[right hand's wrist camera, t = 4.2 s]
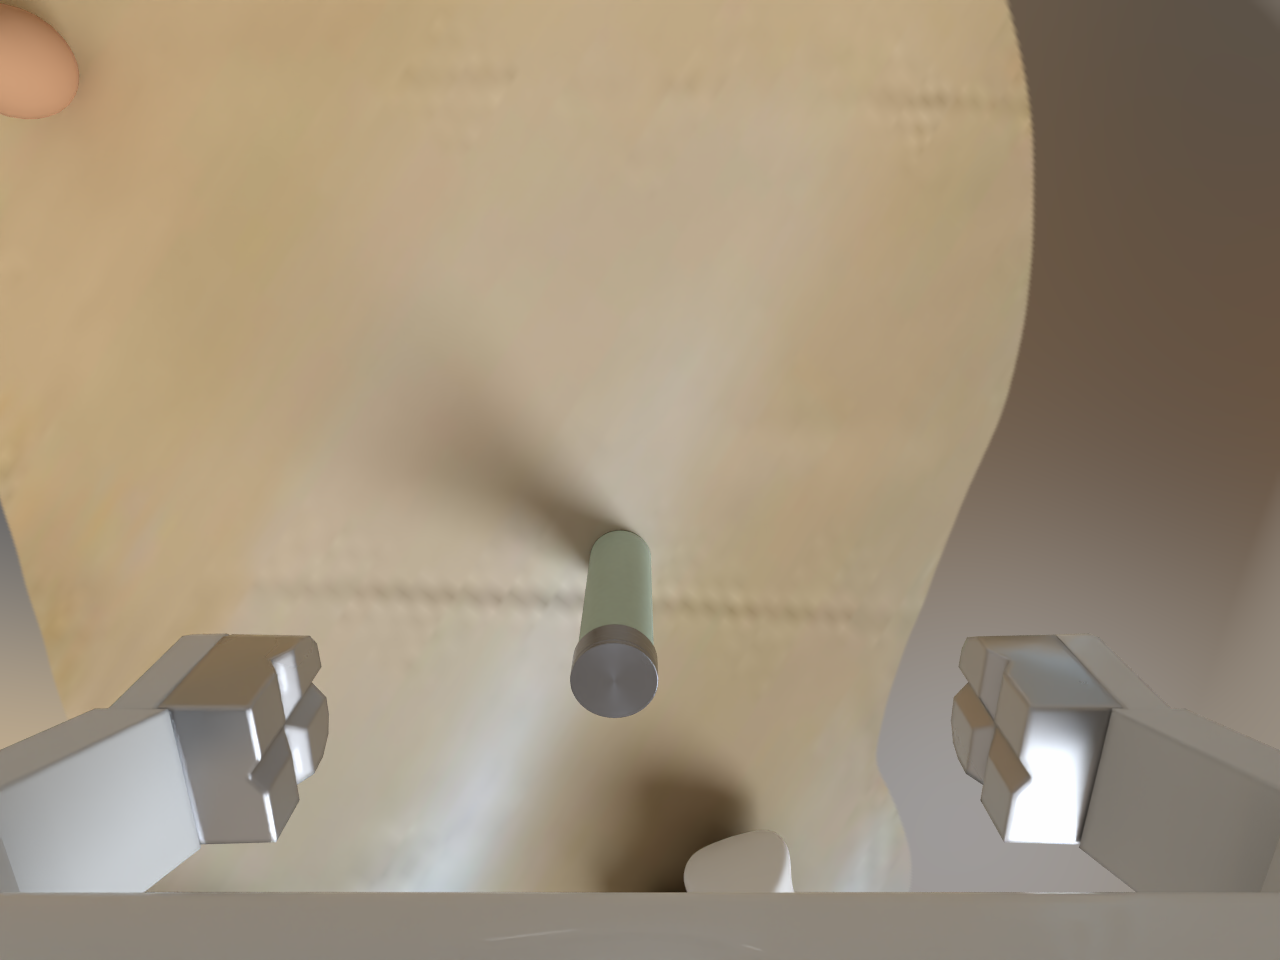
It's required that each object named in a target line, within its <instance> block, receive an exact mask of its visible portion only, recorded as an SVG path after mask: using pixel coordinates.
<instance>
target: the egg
mask: <svg viewBox="0 0 1280 960" xmlns="http://www.w3.org/2000/svg"><path fill="white" fill-rule="evenodd" d="M78 84H79V71H78V65H77V62H76V59H75V57H74V55H73V52H72V51H71V49H70V47H69V46H68V44H67V43H66V41H65V40H64V39H63V37H62V36H61V35H60V34H59V33H58V32H57V31H56V30H55V29H54V28H53V27H52V26H51V25H49V24H48V23H46V22H45V21H43V20H42V19H40V18H39V17H38V16H36V15H34V14H32V13H30V12H28V11H25V10H23V9H21V8H18V7H14V6H10V5H5V4H1V3H0V114H3V115H6V116H9V117H15V118H21V119H39V118H44V117H48V116H51V115H54V114H56V113H59V112H60V111H62V110H63V109H64V108H65V107H67V106H68V105H69V104H70V102H71V101H72V99H73V98H74V96H75V94H76V92H77V88H78Z"/></svg>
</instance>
